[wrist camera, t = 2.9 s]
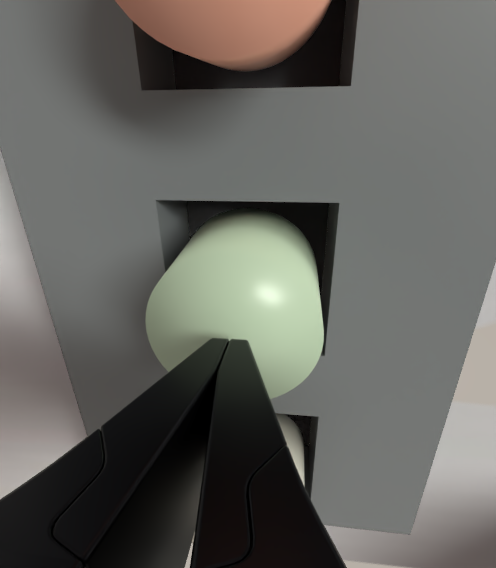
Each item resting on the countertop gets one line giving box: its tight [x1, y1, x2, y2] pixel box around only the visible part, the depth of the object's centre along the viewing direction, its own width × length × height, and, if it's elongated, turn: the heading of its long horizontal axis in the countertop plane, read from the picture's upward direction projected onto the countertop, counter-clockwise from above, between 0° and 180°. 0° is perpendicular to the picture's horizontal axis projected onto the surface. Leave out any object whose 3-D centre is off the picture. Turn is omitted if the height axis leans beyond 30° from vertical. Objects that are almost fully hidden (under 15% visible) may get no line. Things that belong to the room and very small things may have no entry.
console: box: [0, 0, 496, 535], centre depth 13 cm, size 14×24×3 cm, turn 1°
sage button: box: [145, 208, 324, 399], centre depth 11 cm, size 4×4×4 cm
